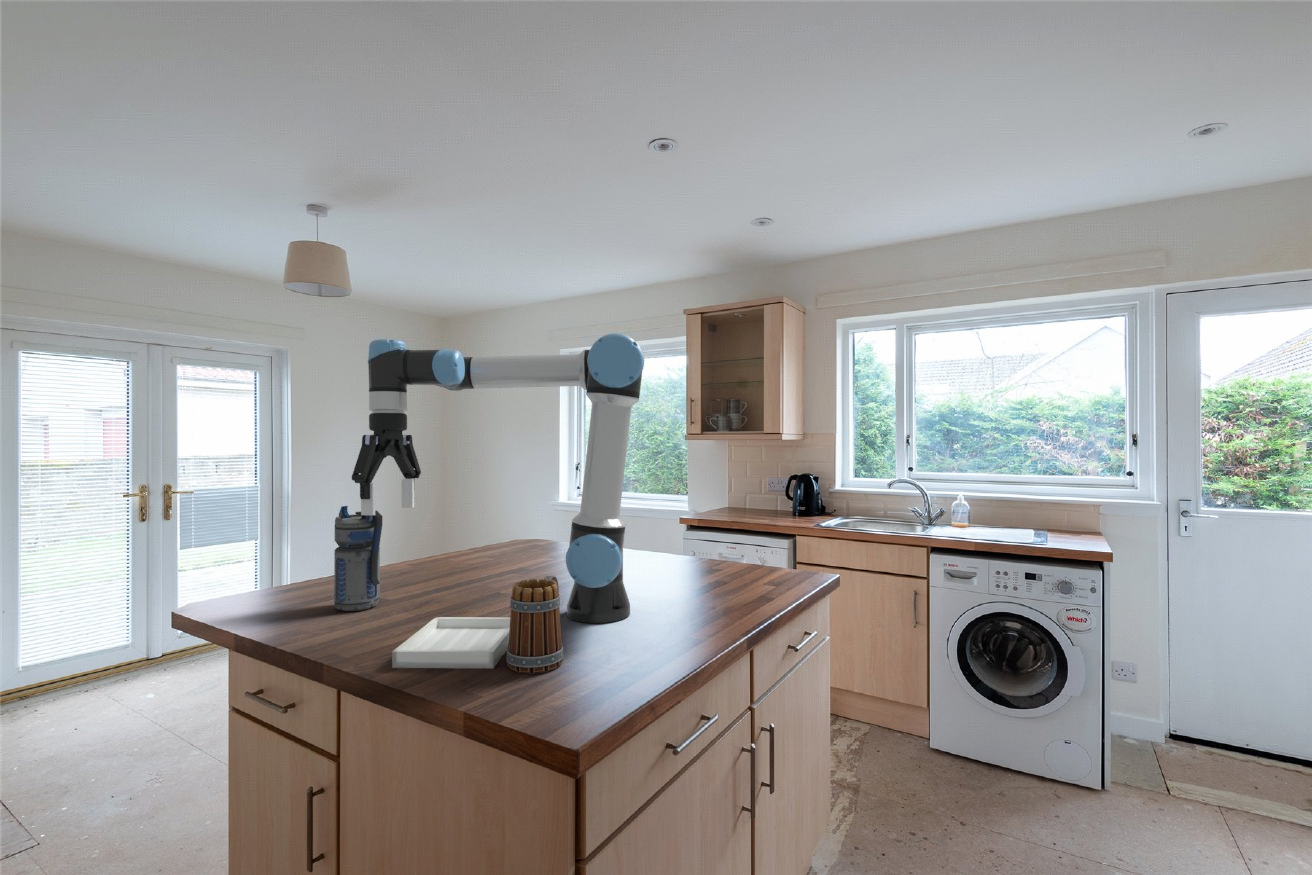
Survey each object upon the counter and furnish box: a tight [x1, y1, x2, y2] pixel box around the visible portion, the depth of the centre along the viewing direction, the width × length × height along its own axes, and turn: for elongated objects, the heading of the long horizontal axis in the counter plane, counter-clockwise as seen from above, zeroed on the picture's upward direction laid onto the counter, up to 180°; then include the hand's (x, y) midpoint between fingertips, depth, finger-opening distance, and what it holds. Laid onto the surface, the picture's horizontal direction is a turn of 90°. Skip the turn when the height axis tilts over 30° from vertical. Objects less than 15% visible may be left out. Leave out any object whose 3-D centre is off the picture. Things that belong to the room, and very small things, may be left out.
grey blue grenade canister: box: [333, 505, 384, 612], centre depth 153 cm, size 10×13×25 cm
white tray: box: [391, 616, 510, 669], centre depth 123 cm, size 19×22×3 cm
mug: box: [506, 575, 564, 675], centre depth 117 cm, size 16×11×15 cm
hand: (389, 511), depth 132 cm, fingers open, 13 cm apart
